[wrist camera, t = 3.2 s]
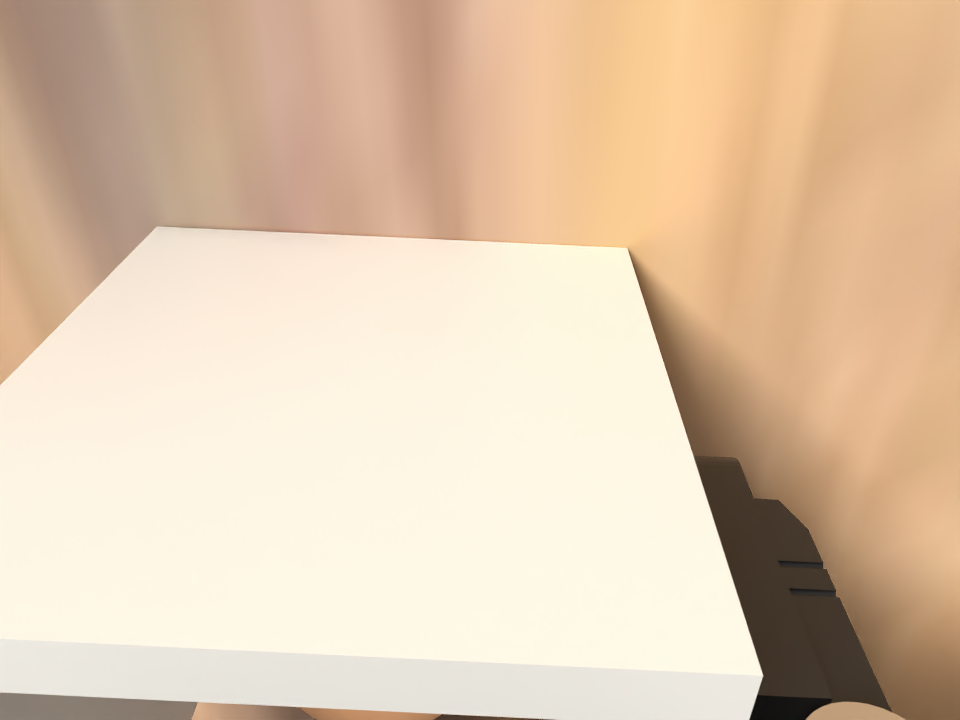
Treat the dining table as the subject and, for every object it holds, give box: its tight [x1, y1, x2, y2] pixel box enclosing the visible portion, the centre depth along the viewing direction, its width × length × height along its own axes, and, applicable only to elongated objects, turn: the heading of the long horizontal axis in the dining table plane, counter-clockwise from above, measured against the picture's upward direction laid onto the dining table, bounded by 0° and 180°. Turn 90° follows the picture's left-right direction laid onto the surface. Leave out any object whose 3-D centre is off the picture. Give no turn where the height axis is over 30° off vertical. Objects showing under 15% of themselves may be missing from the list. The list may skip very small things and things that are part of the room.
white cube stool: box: [0, 227, 763, 720], centre depth 9 cm, size 6×6×6 cm
